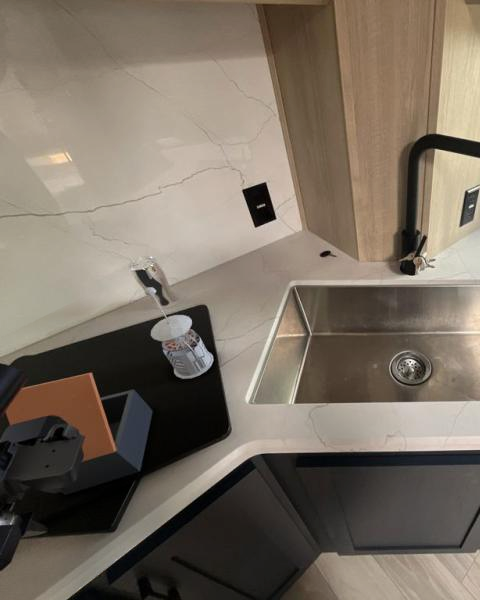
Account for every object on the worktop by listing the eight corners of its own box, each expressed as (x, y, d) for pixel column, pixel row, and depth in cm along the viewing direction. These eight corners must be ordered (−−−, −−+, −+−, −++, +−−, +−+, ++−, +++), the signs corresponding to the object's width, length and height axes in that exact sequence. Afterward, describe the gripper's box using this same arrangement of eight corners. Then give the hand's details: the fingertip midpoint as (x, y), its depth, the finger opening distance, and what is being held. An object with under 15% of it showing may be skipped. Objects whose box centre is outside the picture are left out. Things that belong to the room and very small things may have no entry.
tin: (90, 429, 68) (63, 406, 62) (153, 412, 72) (133, 389, 66) (67, 495, 59) (32, 476, 53) (141, 472, 62) (117, 452, 56)
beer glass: (176, 293, 102) (154, 253, 92) (181, 305, 98) (159, 264, 88) (150, 302, 98) (125, 261, 89) (155, 314, 95) (129, 273, 85)
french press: (199, 345, 86) (157, 269, 70) (229, 362, 83) (192, 286, 66) (163, 370, 80) (108, 293, 64) (194, 391, 76) (143, 313, 60)
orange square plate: (3, 392, 51) (-2, 394, 50) (91, 372, 54) (89, 373, 54) (32, 474, 53) (29, 477, 52) (116, 449, 56) (114, 452, 56)
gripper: (10, 527, 32) (100, 562, 42) (75, 378, 45) (132, 432, 55) (-153, 580, 28) (-12, 604, 38) (-31, 402, 41) (50, 455, 51)
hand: (51, 510), depth 46 cm, fingers open, 5 cm apart
